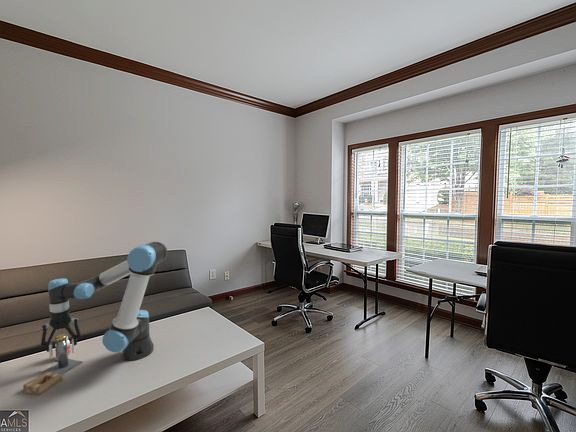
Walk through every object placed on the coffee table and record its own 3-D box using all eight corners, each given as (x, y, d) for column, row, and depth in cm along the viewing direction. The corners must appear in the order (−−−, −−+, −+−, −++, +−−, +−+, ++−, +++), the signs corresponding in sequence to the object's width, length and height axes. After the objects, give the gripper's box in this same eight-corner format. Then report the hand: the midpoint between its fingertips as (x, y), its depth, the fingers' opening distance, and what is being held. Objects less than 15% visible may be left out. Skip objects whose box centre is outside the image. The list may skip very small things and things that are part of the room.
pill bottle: (70, 358, 146) (68, 338, 146) (55, 362, 143) (53, 341, 142) (71, 353, 151) (70, 333, 151) (57, 356, 148) (55, 337, 147)
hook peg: (69, 362, 142) (67, 333, 141) (68, 366, 138) (66, 336, 137) (58, 365, 139) (55, 335, 138) (56, 369, 135) (54, 339, 134)
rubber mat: (82, 362, 143) (82, 361, 142) (60, 375, 132) (60, 374, 132) (66, 359, 145) (66, 358, 145) (43, 372, 135) (43, 371, 135)
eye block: (62, 380, 128) (62, 374, 128) (39, 395, 119) (39, 388, 119) (47, 377, 130) (47, 371, 130) (23, 391, 121) (23, 385, 121)
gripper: (86, 303, 146) (88, 344, 147) (33, 312, 134) (36, 357, 136) (85, 307, 139) (87, 351, 141) (29, 317, 128) (33, 364, 129)
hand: (62, 354), depth 138 cm, fingers open, 8 cm apart
